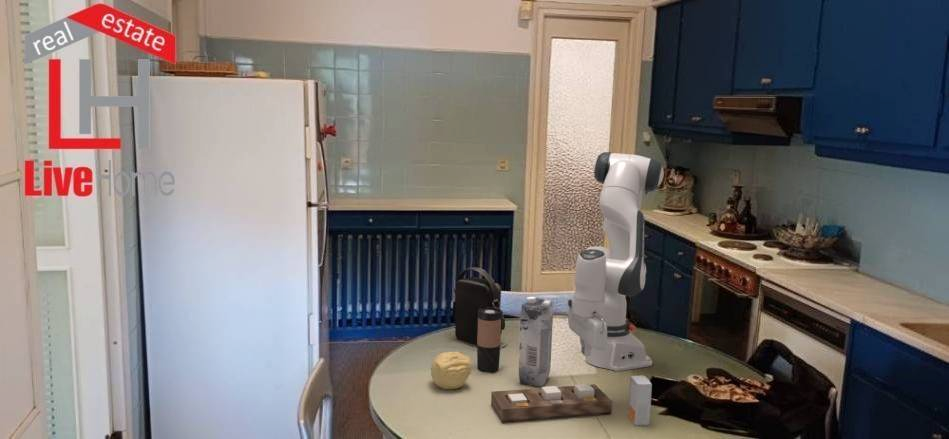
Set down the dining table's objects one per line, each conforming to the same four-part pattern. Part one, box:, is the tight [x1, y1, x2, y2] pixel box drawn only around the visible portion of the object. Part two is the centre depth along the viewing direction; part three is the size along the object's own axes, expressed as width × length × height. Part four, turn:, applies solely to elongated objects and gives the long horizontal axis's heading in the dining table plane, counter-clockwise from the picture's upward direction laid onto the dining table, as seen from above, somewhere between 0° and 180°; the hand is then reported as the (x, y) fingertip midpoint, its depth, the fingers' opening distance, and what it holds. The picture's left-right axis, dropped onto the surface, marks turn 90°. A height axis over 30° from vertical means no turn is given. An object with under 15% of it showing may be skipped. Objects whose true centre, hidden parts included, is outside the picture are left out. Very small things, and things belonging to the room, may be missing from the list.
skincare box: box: [628, 375, 653, 426], centre depth 188 cm, size 6×4×12 cm
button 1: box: [508, 393, 527, 404], centre depth 192 cm, size 4×4×3 cm
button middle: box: [540, 385, 561, 401], centre depth 194 cm, size 4×4×3 cm
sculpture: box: [430, 350, 472, 390], centre depth 209 cm, size 12×12×11 cm
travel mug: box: [476, 307, 502, 374], centre depth 222 cm, size 8×8×20 cm
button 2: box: [573, 383, 594, 399], centre depth 196 cm, size 4×4×3 cm
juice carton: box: [518, 296, 554, 388], centre depth 213 cm, size 9×10×27 cm
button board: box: [490, 383, 613, 424], centre depth 194 cm, size 32×12×4 cm, turn 103°
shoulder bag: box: [445, 266, 507, 349], centre depth 248 cm, size 23×9×28 cm, turn 51°
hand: (585, 354), depth 194 cm, fingers closed
